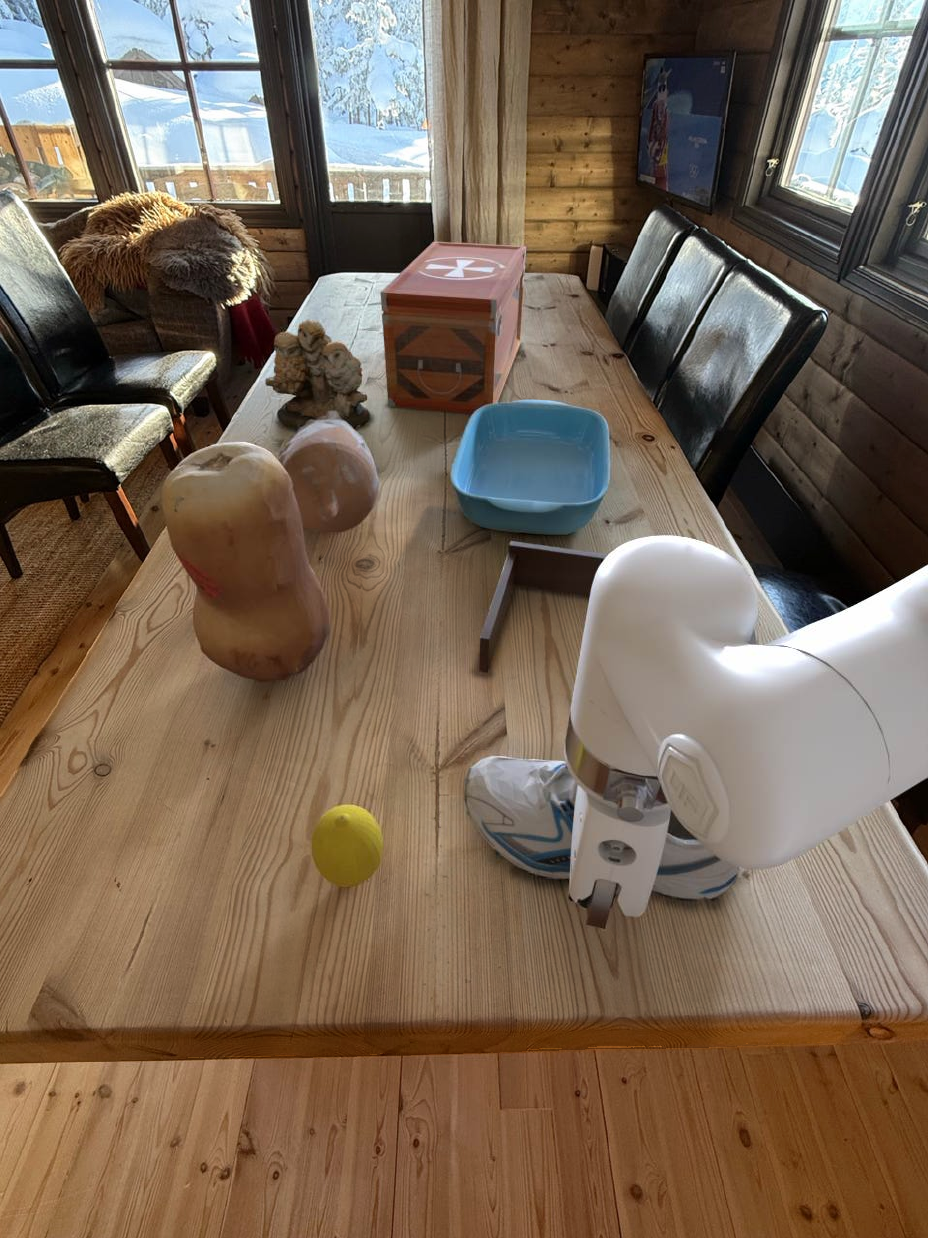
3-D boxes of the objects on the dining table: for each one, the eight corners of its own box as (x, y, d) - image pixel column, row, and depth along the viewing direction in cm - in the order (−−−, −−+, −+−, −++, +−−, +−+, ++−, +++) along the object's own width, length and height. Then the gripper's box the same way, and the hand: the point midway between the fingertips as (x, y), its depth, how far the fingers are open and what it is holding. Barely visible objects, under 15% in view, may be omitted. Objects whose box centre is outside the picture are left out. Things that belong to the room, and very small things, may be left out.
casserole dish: (475, 430, 117) (476, 391, 112) (602, 439, 115) (608, 399, 110) (438, 547, 89) (437, 501, 85) (604, 563, 87) (613, 516, 82)
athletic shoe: (469, 765, 62) (469, 706, 52) (720, 798, 60) (768, 742, 50) (454, 876, 56) (450, 832, 46) (730, 916, 54) (787, 879, 44)
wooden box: (522, 343, 152) (528, 245, 139) (494, 416, 122) (498, 300, 109) (435, 337, 155) (433, 240, 142) (387, 406, 124) (379, 292, 111)
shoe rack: (747, 719, 67) (765, 678, 63) (478, 671, 72) (480, 630, 68) (736, 614, 79) (750, 574, 75) (507, 579, 84) (510, 540, 80)
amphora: (266, 488, 76) (286, 351, 95) (268, 580, 88) (286, 442, 107) (385, 500, 79) (382, 365, 98) (372, 588, 91) (371, 453, 110)
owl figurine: (264, 432, 116) (243, 331, 105) (281, 404, 125) (264, 309, 114) (365, 434, 115) (355, 333, 104) (375, 407, 124) (367, 311, 113)
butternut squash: (187, 665, 72) (108, 456, 56) (286, 606, 80) (242, 407, 63) (264, 730, 65) (198, 513, 49) (364, 659, 73) (336, 451, 57)
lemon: (394, 891, 53) (387, 837, 48) (326, 914, 51) (311, 861, 46) (377, 833, 57) (369, 777, 52) (313, 853, 55) (298, 798, 50)
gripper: (706, 878, 31) (636, 1016, 43) (696, 662, 42) (643, 820, 54) (549, 844, 33) (524, 987, 45) (579, 643, 44) (553, 802, 56)
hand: (590, 895), depth 49 cm, fingers closed
